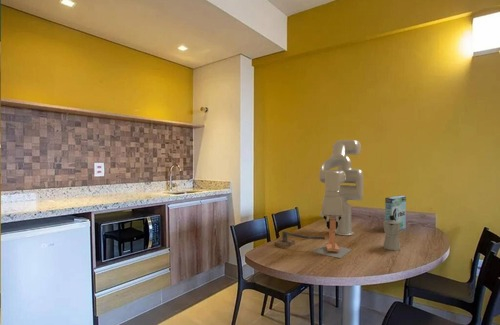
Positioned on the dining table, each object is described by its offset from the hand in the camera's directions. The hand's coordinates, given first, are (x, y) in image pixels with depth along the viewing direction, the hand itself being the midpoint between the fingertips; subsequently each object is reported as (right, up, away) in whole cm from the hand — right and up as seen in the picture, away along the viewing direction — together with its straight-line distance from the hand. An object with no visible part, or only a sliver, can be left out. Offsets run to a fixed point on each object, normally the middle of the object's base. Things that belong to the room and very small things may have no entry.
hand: (332, 228), depth 153 cm
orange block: (0, -11, 0) cm, 11 cm away
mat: (0, -12, 0) cm, 12 cm away
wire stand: (-16, -12, +5) cm, 21 cm away
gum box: (+57, -12, +45) cm, 73 cm away
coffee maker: (+34, -12, +6) cm, 37 cm away
